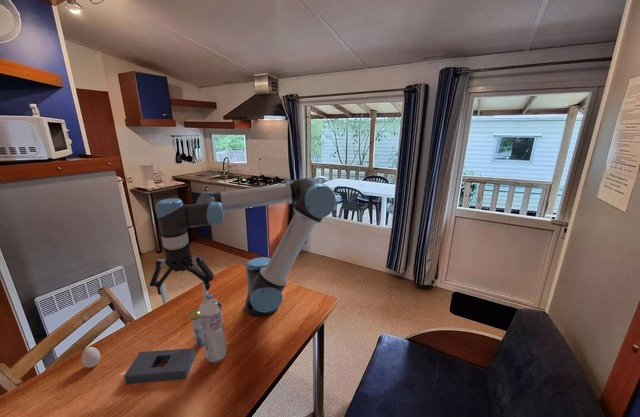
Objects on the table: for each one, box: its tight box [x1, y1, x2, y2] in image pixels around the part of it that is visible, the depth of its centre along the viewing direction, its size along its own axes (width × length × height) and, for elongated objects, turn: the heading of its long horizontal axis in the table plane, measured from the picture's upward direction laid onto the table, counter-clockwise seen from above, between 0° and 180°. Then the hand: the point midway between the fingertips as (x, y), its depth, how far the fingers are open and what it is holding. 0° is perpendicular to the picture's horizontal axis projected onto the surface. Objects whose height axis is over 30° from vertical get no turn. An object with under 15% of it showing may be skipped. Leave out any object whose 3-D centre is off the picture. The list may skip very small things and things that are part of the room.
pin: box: [188, 307, 204, 348], centre depth 95 cm, size 5×5×14 cm
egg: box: [80, 346, 101, 369], centre depth 87 cm, size 5×5×7 cm
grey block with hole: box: [123, 347, 197, 385], centre depth 86 cm, size 18×9×4 cm, turn 97°
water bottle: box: [198, 293, 227, 364], centre depth 89 cm, size 7×7×25 cm
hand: (186, 299), depth 92 cm, fingers open, 13 cm apart
